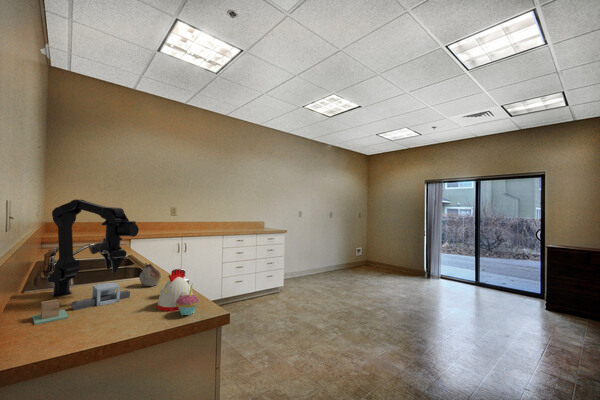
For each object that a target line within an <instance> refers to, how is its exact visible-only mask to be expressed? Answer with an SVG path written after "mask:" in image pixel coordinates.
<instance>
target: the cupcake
mask: <svg viewBox="0 0 600 400" xmlns="http://www.w3.org/2000/svg"><path fill="white" fill-rule="evenodd" d="M193 286H194V284H193V283H191V285H190V287H191V288H190V294H189V295H183V296H181V297H179V298H178V299H177V300H176V303H175V305H176V306H177V307H178V308H179V313H180V315H181V316H183V315H188V316H191V315H190V314H192V313H193V314H194V313H195V311H196V308H197V306H198V305H199V302H200V299H199V297H197V296H196V295H194V294H193V295H191V292H192V293H193ZM193 314H192V315H193Z"/></svg>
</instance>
